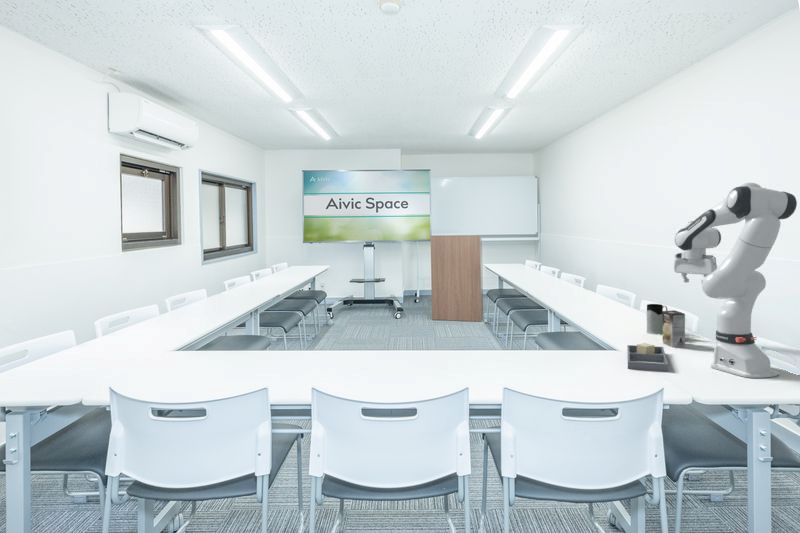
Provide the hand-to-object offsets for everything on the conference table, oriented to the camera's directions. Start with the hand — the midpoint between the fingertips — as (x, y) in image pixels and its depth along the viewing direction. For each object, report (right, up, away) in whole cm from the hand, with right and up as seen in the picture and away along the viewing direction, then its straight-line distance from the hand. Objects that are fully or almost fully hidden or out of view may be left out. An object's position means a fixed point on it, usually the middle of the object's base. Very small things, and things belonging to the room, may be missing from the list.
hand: (695, 283), depth 225 cm
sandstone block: (-33, -32, -16) cm, 49 cm away
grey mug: (-2, -28, +28) cm, 39 cm away
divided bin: (-36, -33, -23) cm, 53 cm away
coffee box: (-10, -30, 0) cm, 32 cm away
